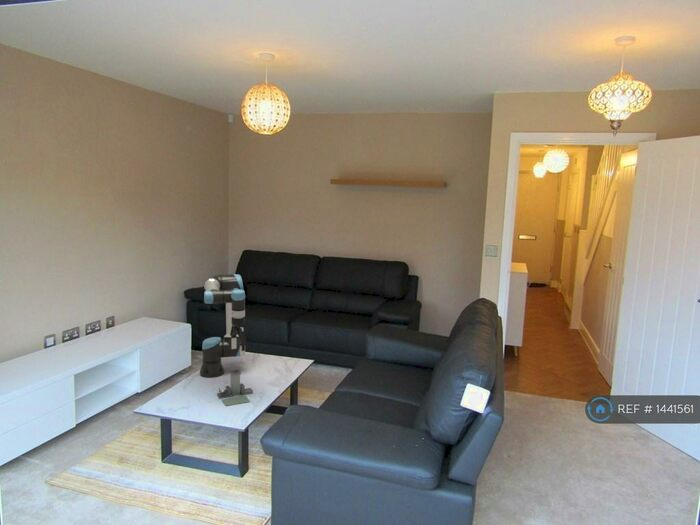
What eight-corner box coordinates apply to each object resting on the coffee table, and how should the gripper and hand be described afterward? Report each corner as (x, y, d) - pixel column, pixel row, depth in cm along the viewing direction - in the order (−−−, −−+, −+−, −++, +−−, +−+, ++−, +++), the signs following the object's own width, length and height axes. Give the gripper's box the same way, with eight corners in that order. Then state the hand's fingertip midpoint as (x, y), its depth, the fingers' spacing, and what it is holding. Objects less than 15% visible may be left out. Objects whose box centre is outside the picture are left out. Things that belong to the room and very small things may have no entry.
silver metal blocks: (217, 395, 287) (217, 386, 286) (250, 390, 296) (250, 381, 296) (219, 399, 283) (219, 389, 282) (253, 393, 292) (253, 384, 291)
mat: (221, 400, 281) (221, 399, 281) (245, 395, 288) (245, 395, 288) (225, 406, 274) (225, 405, 274) (250, 402, 280) (250, 401, 280)
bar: (229, 393, 291) (229, 370, 289) (238, 392, 293) (238, 369, 291) (231, 396, 286) (231, 373, 284) (240, 395, 289) (240, 372, 286)
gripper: (224, 312, 290) (224, 346, 294) (240, 323, 270) (239, 360, 273) (236, 310, 294) (236, 344, 298) (252, 321, 274) (252, 357, 277)
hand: (238, 352), depth 285 cm, fingers open, 13 cm apart
